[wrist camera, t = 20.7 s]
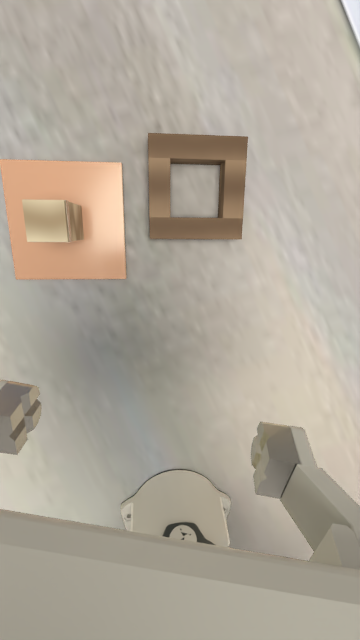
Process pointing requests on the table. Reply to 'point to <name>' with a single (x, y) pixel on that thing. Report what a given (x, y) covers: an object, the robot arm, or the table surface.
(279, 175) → the table surface
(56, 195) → the terracotta tile
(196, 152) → the walnut collar holder
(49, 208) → the block
